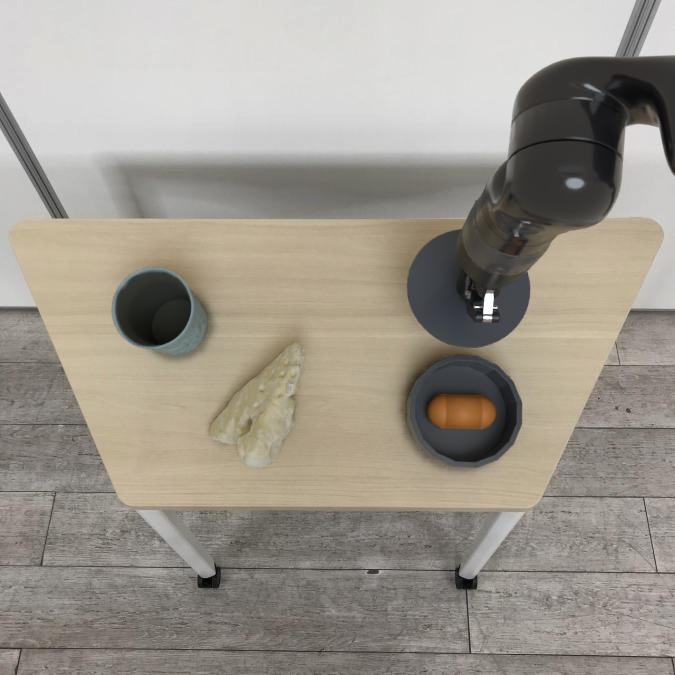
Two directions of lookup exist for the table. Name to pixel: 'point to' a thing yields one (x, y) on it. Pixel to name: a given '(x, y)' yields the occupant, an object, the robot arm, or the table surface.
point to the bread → (461, 411)
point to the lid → (458, 297)
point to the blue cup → (158, 312)
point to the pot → (465, 380)
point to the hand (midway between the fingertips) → (470, 284)
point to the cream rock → (262, 410)
